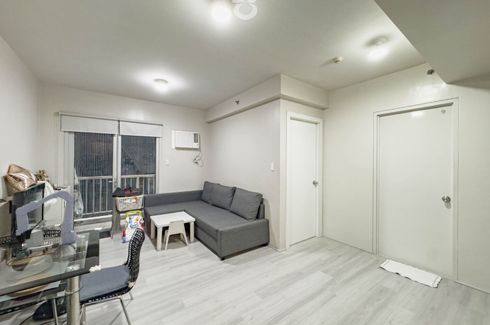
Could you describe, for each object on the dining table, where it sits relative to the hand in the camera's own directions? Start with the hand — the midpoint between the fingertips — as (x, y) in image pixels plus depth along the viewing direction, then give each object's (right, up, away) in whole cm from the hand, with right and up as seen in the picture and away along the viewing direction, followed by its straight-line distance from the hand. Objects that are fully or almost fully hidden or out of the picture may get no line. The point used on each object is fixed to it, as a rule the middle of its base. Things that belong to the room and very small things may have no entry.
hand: (25, 241), depth 152 cm
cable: (+8, -9, +6) cm, 13 cm away
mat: (+8, -9, +6) cm, 13 cm away
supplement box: (-6, -9, +13) cm, 17 cm away
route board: (+12, -9, -2) cm, 15 cm away
